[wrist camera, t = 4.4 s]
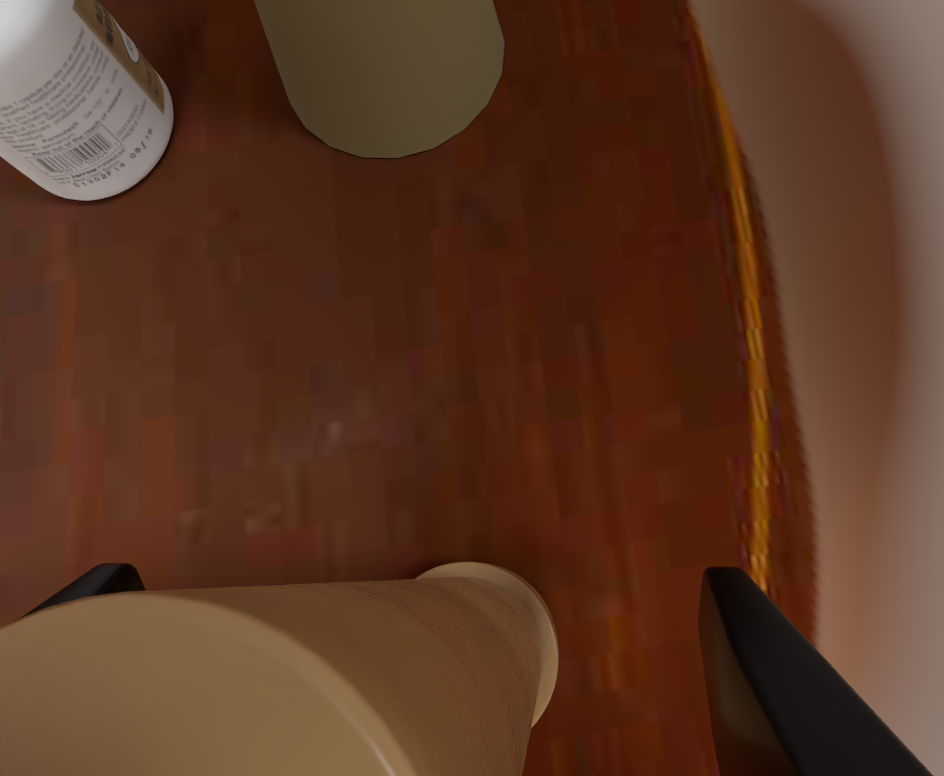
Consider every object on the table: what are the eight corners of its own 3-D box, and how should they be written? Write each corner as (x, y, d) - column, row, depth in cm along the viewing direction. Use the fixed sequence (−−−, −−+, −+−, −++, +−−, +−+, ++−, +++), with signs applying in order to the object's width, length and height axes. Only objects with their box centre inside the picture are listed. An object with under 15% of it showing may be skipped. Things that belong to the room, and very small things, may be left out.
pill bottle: (208, 92, 21) (8, -178, 13) (125, 228, 20) (-134, 24, 13) (82, 43, 22) (-171, -237, 14) (-2, 171, 21) (-314, -52, 13)
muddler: (588, 690, 16) (734, 1317, 3) (436, 766, 16) (-236, 1806, 3) (512, 534, 17) (326, 390, 3) (369, 606, 17) (-380, 739, 3)
